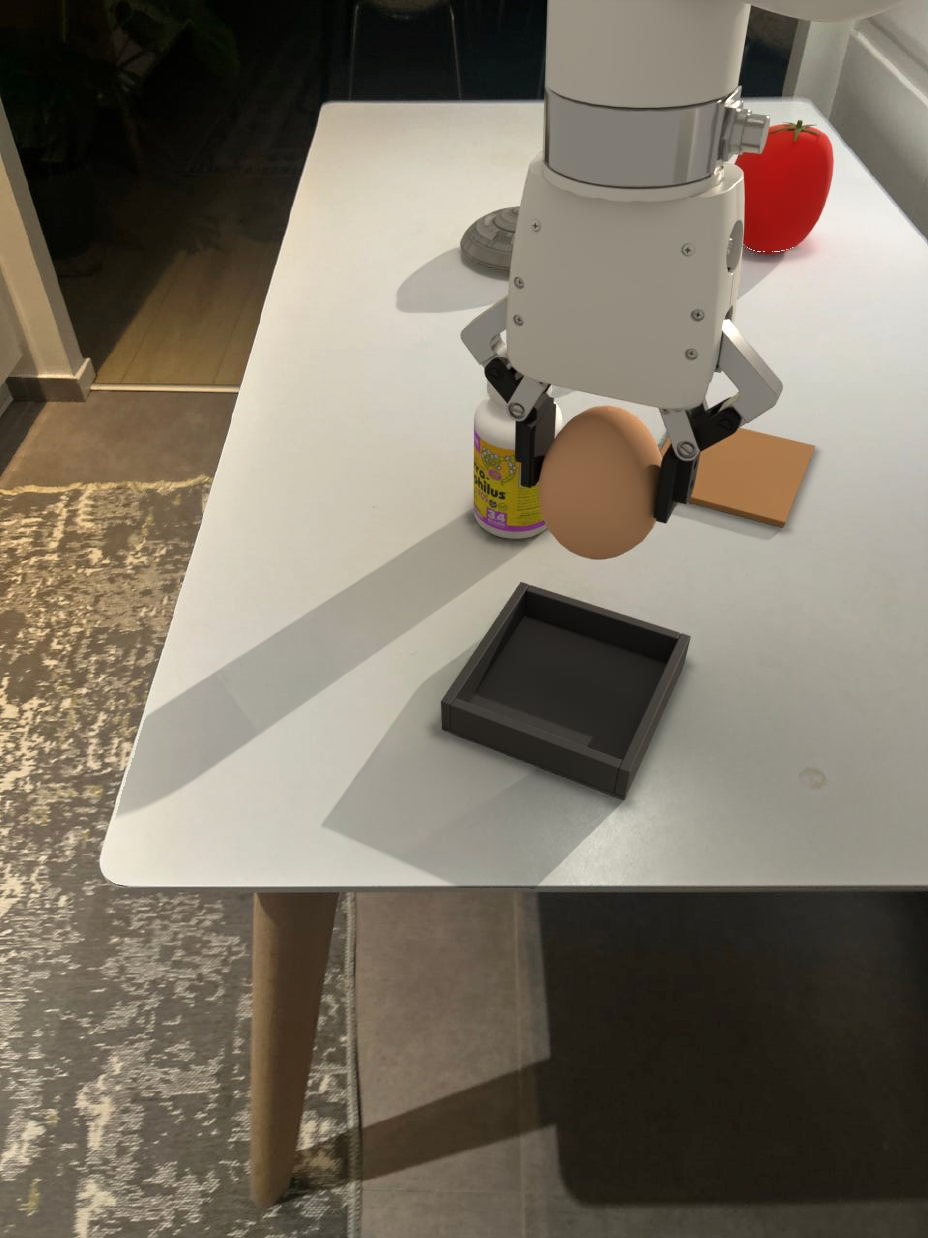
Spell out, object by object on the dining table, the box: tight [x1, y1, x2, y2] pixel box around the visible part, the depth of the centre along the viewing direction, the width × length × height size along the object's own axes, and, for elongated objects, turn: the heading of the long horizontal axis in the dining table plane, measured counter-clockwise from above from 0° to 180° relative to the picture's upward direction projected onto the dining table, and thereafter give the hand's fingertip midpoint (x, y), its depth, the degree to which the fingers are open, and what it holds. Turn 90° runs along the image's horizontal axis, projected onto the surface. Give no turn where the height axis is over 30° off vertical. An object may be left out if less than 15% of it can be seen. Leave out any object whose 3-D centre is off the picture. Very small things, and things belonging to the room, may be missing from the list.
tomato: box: [733, 119, 835, 256], centre depth 108 cm, size 13×11×14 cm
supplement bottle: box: [473, 379, 564, 540], centre depth 70 cm, size 7×7×13 cm
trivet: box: [659, 427, 816, 528], centre depth 79 cm, size 12×12×1 cm
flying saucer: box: [459, 205, 520, 272], centre depth 109 cm, size 15×15×6 cm
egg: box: [539, 405, 662, 561], centre depth 50 cm, size 7×7×9 cm
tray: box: [440, 581, 692, 801], centre depth 60 cm, size 12×12×3 cm
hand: (601, 488), depth 50 cm, fingers closed on egg, 6 cm apart
